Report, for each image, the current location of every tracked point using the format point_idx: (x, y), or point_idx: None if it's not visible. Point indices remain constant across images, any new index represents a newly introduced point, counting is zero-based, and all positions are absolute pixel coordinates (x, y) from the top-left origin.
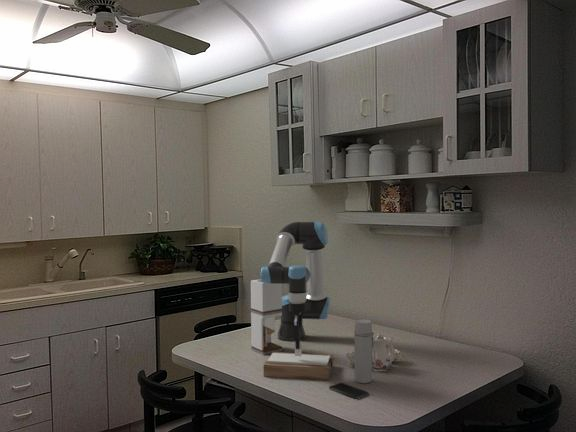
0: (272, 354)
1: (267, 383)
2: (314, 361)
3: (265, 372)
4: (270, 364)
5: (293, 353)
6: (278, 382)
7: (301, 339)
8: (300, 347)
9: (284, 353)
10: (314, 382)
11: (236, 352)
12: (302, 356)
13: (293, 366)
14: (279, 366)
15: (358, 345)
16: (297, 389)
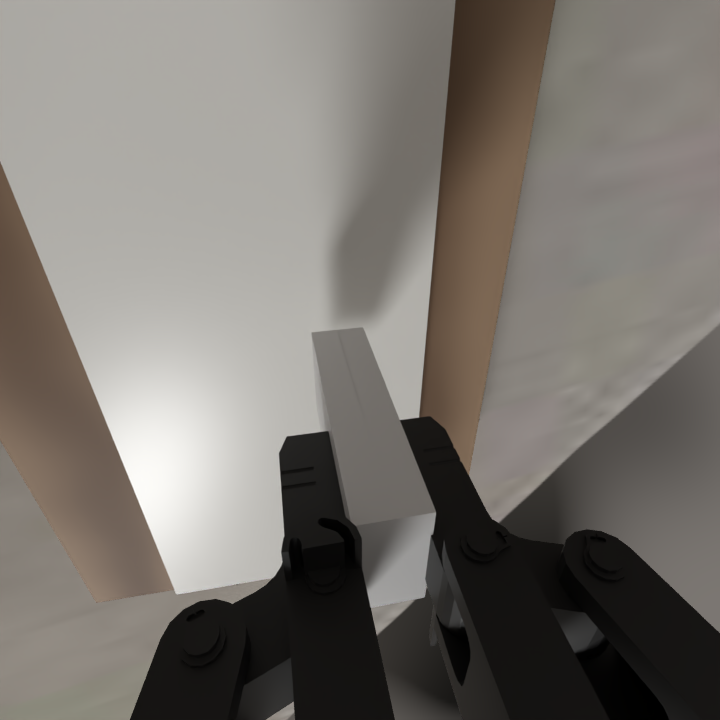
0: (223, 581)
1: (557, 414)
2: (364, 82)
3: None
4: None
5: (23, 451)
6: (544, 358)
7: (355, 547)
8: (398, 420)
9: (79, 521)
10: (571, 30)
11: (24, 715)
12: (173, 321)
13: (493, 331)
14: (470, 442)
15: None
16: (715, 181)
